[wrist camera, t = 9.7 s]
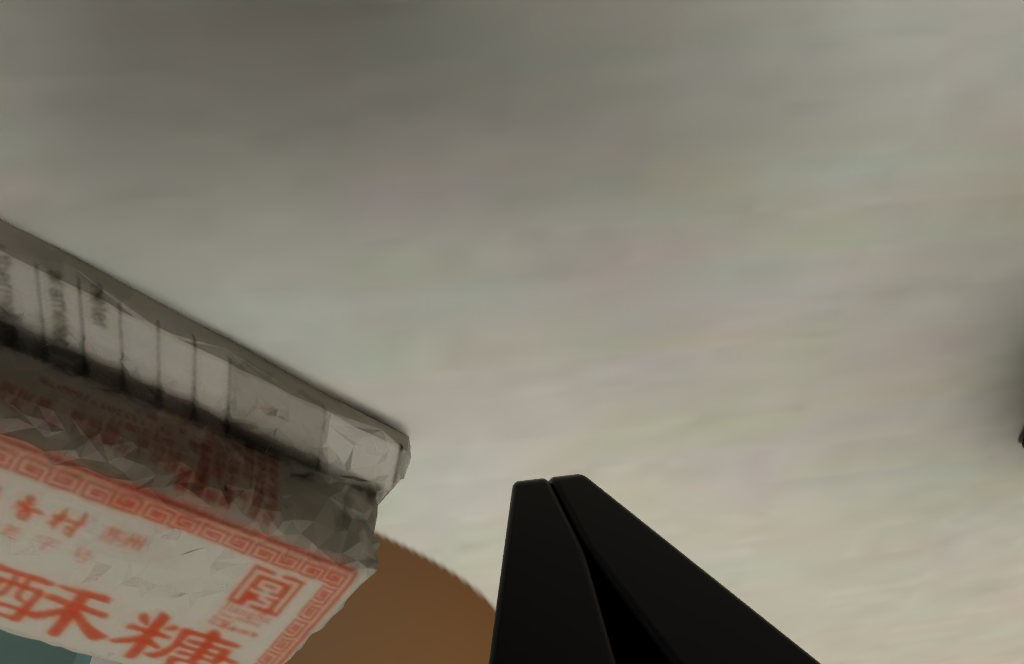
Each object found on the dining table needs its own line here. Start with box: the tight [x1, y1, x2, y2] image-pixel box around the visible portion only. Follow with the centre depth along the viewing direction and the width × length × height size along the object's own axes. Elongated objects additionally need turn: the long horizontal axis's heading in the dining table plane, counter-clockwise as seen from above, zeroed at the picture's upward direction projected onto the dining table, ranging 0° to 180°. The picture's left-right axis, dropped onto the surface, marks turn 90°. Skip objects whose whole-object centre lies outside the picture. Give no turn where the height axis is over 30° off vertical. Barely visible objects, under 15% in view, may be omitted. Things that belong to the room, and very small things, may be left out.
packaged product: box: [0, 219, 411, 664], centre depth 18 cm, size 18×5×10 cm
